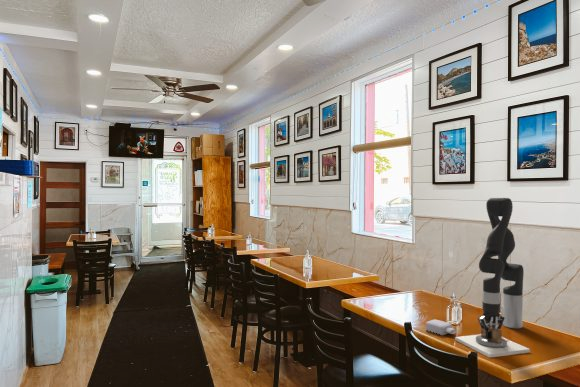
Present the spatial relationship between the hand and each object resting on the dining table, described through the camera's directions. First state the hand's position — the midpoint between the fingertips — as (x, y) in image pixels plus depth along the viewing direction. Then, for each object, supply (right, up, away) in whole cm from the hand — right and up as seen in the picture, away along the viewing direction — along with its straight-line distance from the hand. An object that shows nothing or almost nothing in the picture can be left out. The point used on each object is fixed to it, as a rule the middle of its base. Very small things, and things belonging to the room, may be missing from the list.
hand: (491, 338), depth 192 cm
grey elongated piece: (-15, -4, +18) cm, 24 cm away
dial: (0, -2, 0) cm, 2 cm away
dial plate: (0, -4, 0) cm, 4 cm away
